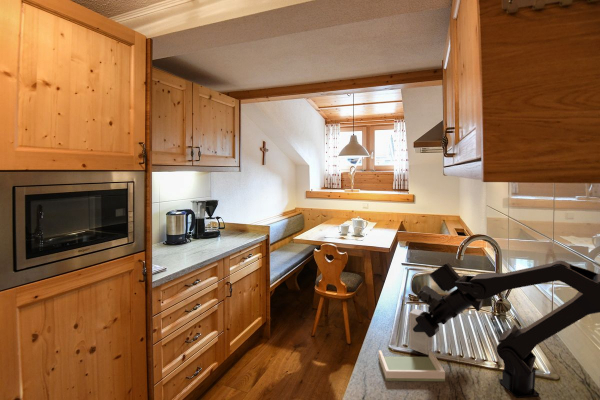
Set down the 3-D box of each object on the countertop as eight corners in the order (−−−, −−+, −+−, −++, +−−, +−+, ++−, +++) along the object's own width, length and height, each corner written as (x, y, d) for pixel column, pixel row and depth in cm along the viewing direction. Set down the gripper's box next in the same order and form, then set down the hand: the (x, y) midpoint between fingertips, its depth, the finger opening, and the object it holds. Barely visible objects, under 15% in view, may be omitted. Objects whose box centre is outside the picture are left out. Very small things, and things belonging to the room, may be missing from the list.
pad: (431, 359, 97) (431, 350, 96) (444, 381, 87) (445, 371, 86) (378, 358, 97) (378, 350, 97) (386, 380, 87) (386, 371, 87)
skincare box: (432, 349, 100) (433, 313, 99) (427, 355, 97) (428, 318, 96) (414, 342, 104) (414, 308, 103) (408, 348, 101) (408, 312, 100)
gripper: (444, 272, 103) (411, 296, 111) (422, 289, 89) (386, 315, 97) (470, 302, 98) (433, 325, 107) (452, 324, 84) (411, 349, 93)
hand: (416, 327), depth 101 cm, fingers closed on skincare box, 4 cm apart
